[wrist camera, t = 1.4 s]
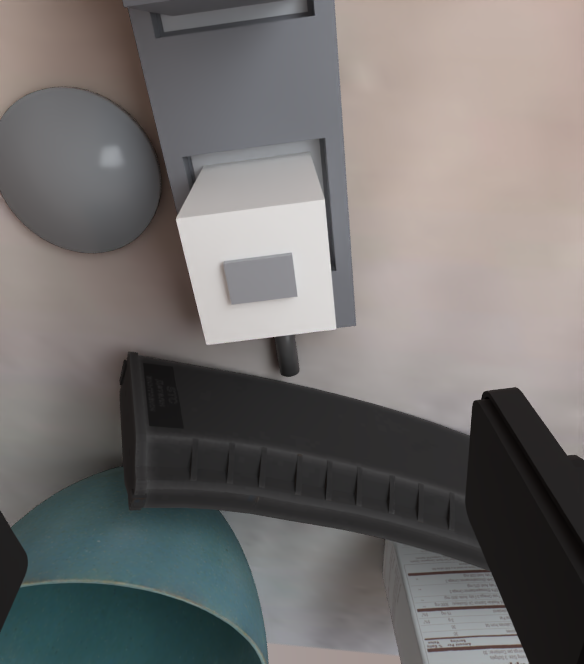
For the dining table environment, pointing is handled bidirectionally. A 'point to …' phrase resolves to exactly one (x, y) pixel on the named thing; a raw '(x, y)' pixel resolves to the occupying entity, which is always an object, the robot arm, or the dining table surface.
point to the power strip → (253, 107)
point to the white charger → (258, 249)
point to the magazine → (292, 456)
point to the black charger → (187, 5)
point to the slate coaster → (78, 169)
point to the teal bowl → (130, 584)
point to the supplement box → (446, 610)
